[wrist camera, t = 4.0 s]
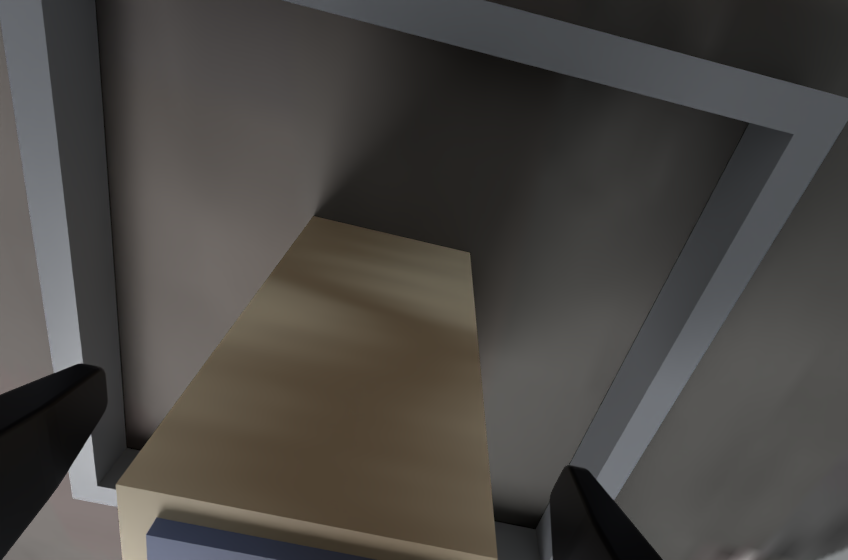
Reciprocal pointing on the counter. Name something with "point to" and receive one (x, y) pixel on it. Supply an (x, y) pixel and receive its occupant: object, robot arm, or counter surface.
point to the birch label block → (328, 418)
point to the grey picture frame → (468, 28)
